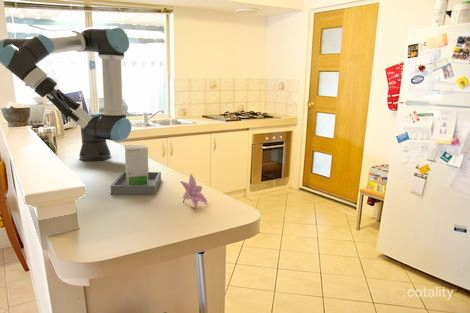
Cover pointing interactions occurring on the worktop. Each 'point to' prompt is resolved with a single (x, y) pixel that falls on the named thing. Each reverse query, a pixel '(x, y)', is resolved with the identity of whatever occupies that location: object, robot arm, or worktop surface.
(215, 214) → the worktop surface
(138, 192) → the tray
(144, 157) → the skincare box
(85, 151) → the robot arm
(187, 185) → the lily
